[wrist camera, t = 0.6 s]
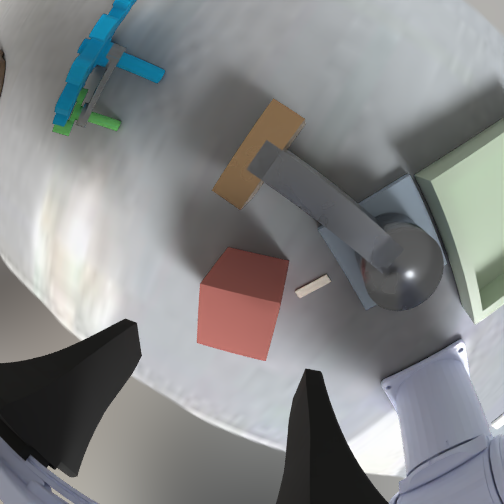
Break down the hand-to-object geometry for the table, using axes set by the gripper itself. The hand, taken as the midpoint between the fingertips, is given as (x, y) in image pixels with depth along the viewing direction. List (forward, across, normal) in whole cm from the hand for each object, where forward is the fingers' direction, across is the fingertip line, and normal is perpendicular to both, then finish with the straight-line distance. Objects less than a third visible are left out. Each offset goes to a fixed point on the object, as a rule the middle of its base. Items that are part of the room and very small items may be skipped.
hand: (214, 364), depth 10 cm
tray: (+8, -16, -8) cm, 20 cm away
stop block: (+8, 0, 0) cm, 9 cm away
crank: (+8, -4, -6) cm, 10 cm away
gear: (+9, +11, -13) cm, 19 cm away
